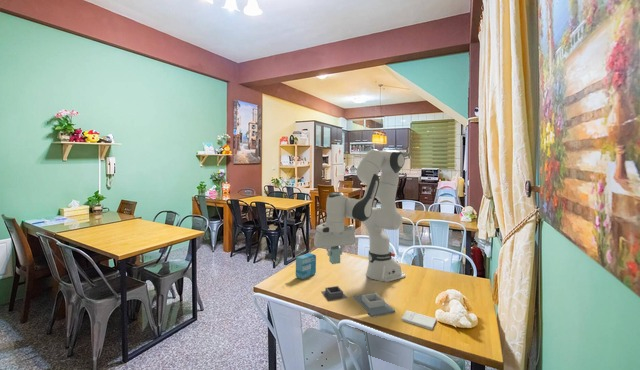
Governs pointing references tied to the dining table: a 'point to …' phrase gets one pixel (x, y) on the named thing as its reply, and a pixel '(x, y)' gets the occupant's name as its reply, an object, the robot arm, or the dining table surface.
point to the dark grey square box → (333, 293)
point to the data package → (305, 265)
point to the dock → (374, 304)
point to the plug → (335, 255)
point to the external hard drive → (419, 319)
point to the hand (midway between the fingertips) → (334, 254)
